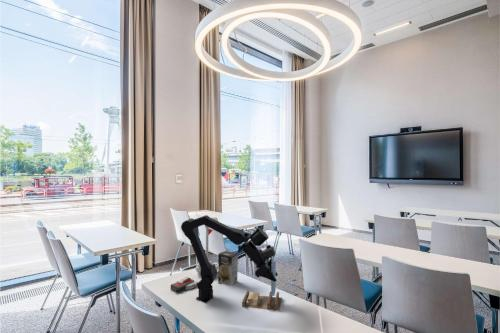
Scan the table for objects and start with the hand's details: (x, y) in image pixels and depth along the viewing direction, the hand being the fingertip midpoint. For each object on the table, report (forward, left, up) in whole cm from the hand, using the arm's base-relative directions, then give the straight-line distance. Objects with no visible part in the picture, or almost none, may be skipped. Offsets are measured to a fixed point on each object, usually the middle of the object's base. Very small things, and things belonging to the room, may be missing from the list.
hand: (276, 278), depth 126 cm
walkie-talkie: (-48, -8, -13) cm, 51 cm away
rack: (-6, -2, -12) cm, 14 cm away
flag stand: (-51, +9, -13) cm, 54 cm away
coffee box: (-33, +6, -13) cm, 36 cm away
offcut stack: (-10, -4, -12) cm, 16 cm away
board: (-1, -1, -7) cm, 7 cm away
